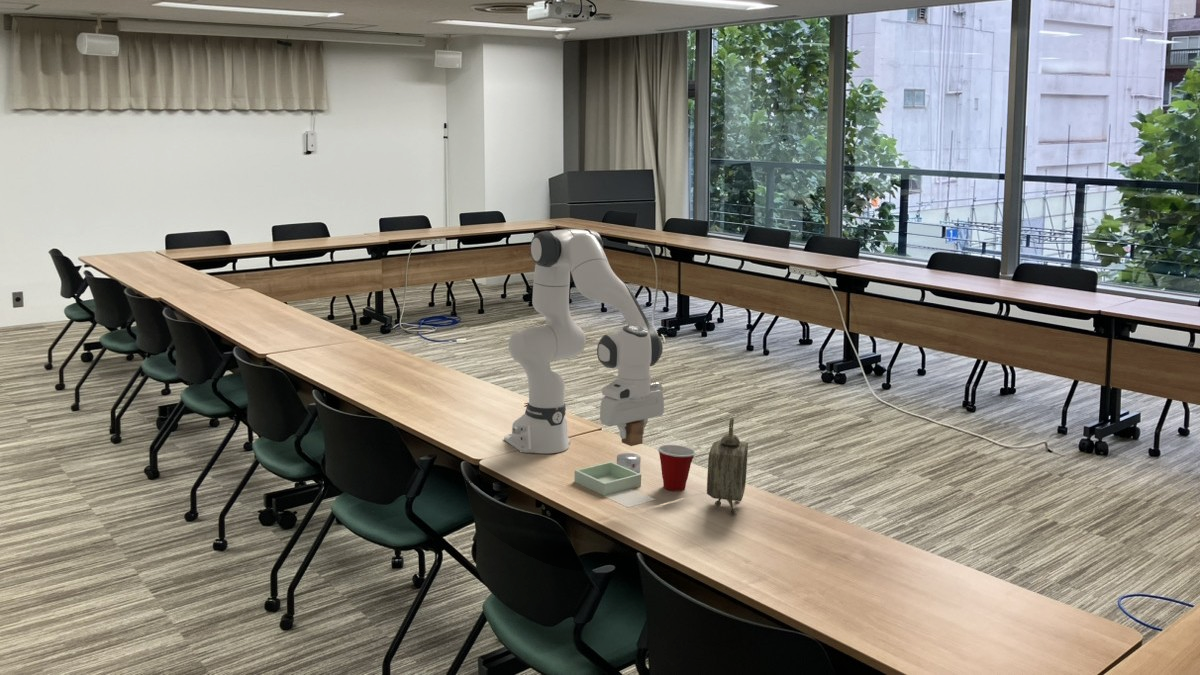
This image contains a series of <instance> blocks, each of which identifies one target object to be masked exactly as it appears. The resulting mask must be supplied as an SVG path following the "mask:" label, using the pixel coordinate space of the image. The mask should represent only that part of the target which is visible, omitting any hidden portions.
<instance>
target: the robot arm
mask: <svg viewBox="0 0 1200 675" xmlns="http://www.w3.org/2000/svg"><path fill="white" fill-rule="evenodd" d="M530 256H531V259H532V260H533V263H535V265H534V273H533V282H532V284H533V285H532V299H531V300H532V301H531V302H532V303H531V304H532V306H533V308H534V310H535V311H536V312H537V313H539V314H540V315H542V316H544V317H545V325H540V326H531V327H525V328H522V329H519V330H516V331H514V332H513V333H511V336H510V338H509V340H508V352H509V354H510V356H511V357H512V359H513V360H514V361H515V362H516V363H518V364H519V365H520V366H521V367H522V368H523V370H524V372H525V374H526V377H527V382H528V402H524V405H523V407H525V411H524V412H525V413H523V414H522V415H520V417H518V418H517V419H516V420H514V421H513V422H512V426H511V433H509V434H507V435H505V436H504V439H503V440H504V441H506V443H509V445H511V446H512V447H513V448H514V449H517V450H518V451H519V452H521V453H526V454H527V453H531V454H533V453H535V454H556V453H561V452H564V451H567V450H568V449H569V444H571V438H569V434H568V419H567V418H566V417H565V416H566V411H567V407H566V403H565V381H564V378H563V376H561V375H560V374H559V373H557V372H556V371H553V370H552V368H551V362H552V361H558V360H559V361H560V360H568V359H571V358H573V357H577V356H579V355H580V354H582V353H583V352H584V350H585V347H586V344H587V343H586V342H587V339H586V335H585V332H584V330H583V329H582V328H581V327H580V326H579V325H578V324H577V323H576V322H575V321H574V319H573V317H572V315H571V311H570V286H571V285H570V284H571V283H570V282H571V277H572V281H573V283H574V286H575V287H576V289H577V292H578V293H579V294H580V295H582V296H583V297H585V298H586V299H588V300H591V301H593V302H597V303H602V304H605V305H609V306H611V307H613V308H615V309H616V310H617V311H619V313H621V315H622V316H623V319H624V320H625V322H626V324H627V325H624V326H622V328H621V329H620V330H619V331H616V332H612V333H608V334H603V336H601V338H600V339H599V341H598V343H597V349H596V352H597V353H596V354H597V360H598V361H599V362H600V364H601V365H603V367H605V368H608V369H617V371H618V373H617V378H616V379H614V380H613V381H612V382H610V383H608V384H606V385H605V386H603V387H602V388H601V394H602V396H603V397H602V398H601V401H600V406H599V407H600V408H599V409H600V411H599V421H600V422H601V424H602V425H604V426H606V427H614V426H616V427H617V429H618V430H619V432H620V434H619V436H620V438H621V440H622V439H625V438H628V437H629V436H628V435H629V432H627V431H626V430H625V428H624V427H626V423H629V422H634V421H641V422H643V435H644V433H645V429H646V426H647V424H648V420H649V419H653V418H656V417H657V418H658V417H662V416H663V414H664V411H665V400H664V394H663V393H664V387H663V385H662V384H661V383H660V382H654V383H651V382H652V381H651V379H652V377H651V376H652V374H651V371H650V367H653V366H654V365H656V364H657V363H658V361H660V360H659V359H660V358H661V357H662V354H663V350H664V348H663V342H662V340H661V338H660V336H659V335H658V333H657V332H656V331H655V330H654V328H653V327H652V325H651V324H650V322H649V320H648V318H647V316H646V314H645V312H644V311H643V309H642V307H641V305H640V303H639V302H638V300H637V298H636V296H635V295H634V293H633V291H632V290H631V288H630V287H629V285H628V284H627V283H625V282H624V281H622V280H621V279H620V278H619V277H618V276H617V274H616V273H615V272H614V271H613V268H612V267H611V265H610V262H609V261H608V258H607V256H606V252H605V251H604V241H603V239H602V237H601V235H600V234H599V233H598V232H597V231H596V230H593V229H590V228H589V229H588V228H584V229H580V228H579V229H578V228H565V229H557V230H556V229H555V230H543V231H540V232H536V233H535V234H534V235H533V237H532V240H531V241H530Z"/></svg>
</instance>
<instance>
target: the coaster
mask: <svg viewBox="0 0 1200 675" xmlns="http://www.w3.org/2000/svg"><path fill="white" fill-rule="evenodd" d="M603 496H604V495H603ZM604 498H606V499H609V500H611V501H613V502H615V503H618V504H619V505H622V506H624V507H626V508H630V507H635V506H638V505H641V504H644V503H649V502H652V501H656V498H653V497H652V496H648V495H647V494H645V493H642V492H640V491H638V490H635V489H634V488H632V489H628V490H624V491H620V492H617V493H613V494H609V495H605V496H604Z"/></svg>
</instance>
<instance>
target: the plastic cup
mask: <svg viewBox="0 0 1200 675" xmlns="http://www.w3.org/2000/svg"><path fill="white" fill-rule="evenodd" d="M657 451H658V454H659V460H660V466H661V468H660V470H661V477H662V483H663V488H664V489H665V490H668V491H672V492H679V491H684V490H685V489H686V486H687V481H688V478H689V473H690V470H691V469H690V468H691V465H692V462H693V459H694V457H695V455H696V454H697V452H696V450H695V449H694V448H691V447H688V446H683V445H678V444H664V445H663V444H662V445H658V447H657Z"/></svg>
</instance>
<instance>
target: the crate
mask: <svg viewBox="0 0 1200 675" xmlns="http://www.w3.org/2000/svg"><path fill="white" fill-rule="evenodd" d="M573 482H574V483H577V484H579V485H581V486H583V487H584V488H587V489H588V490H591V491H593V492H595V493H598V494H599V495H602V496H607V495H610V494H614V493H618V492H622V491H625V490H629V489H635V488H638V487H641V486H642V474H641V473H637V472H634V471H632V470H630V469H627V468H625V467H623V466H620V465H618V464H617V462H613V461H607V462H604V463H603V462H602V463H600V464H596V465H591V466H587V467H582V468H579V469H574V481H573Z"/></svg>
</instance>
